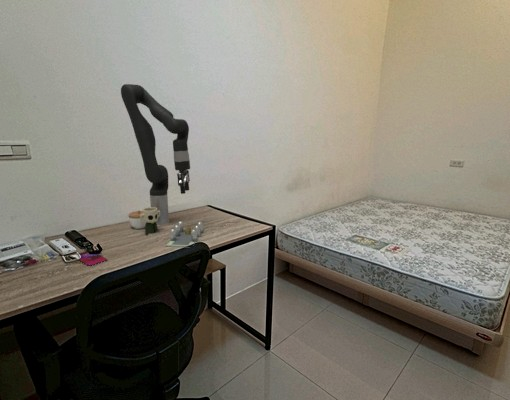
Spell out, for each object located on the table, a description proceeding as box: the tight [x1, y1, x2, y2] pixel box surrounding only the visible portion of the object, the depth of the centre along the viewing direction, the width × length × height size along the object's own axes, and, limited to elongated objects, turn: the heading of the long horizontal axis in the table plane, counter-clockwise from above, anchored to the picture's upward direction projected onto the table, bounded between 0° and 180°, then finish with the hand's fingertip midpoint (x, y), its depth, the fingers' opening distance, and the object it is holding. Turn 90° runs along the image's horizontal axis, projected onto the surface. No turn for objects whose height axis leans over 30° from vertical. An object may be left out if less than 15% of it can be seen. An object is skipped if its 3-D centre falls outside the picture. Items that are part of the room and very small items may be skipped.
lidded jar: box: [128, 210, 146, 230], centre depth 159 cm, size 11×11×9 cm
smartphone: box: [78, 250, 108, 267], centre depth 121 cm, size 8×1×15 cm
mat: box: [165, 228, 205, 248], centre depth 143 cm, size 12×24×2 cm, turn 177°
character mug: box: [140, 206, 160, 235], centre depth 150 cm, size 11×7×13 cm, turn 138°
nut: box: [184, 226, 194, 235], centre depth 148 cm, size 4×5×3 cm
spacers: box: [169, 220, 204, 243], centre depth 144 cm, size 13×15×6 cm
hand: (185, 191), depth 151 cm, fingers open, 8 cm apart
